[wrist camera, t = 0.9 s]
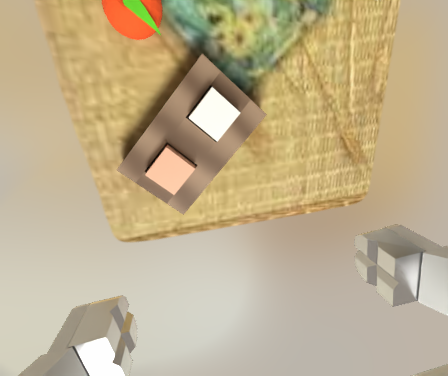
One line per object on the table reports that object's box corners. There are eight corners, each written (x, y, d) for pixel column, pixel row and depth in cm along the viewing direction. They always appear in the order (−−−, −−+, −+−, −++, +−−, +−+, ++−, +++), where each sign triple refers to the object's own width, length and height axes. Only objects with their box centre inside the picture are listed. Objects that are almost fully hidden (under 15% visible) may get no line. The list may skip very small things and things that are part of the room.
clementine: (181, 23, 34) (179, 4, 27) (148, 62, 35) (139, 53, 28) (133, -29, 31) (119, -65, 25) (100, 14, 32) (77, -8, 26)
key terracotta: (167, 143, 36) (166, 147, 33) (194, 164, 38) (195, 169, 35) (148, 169, 37) (144, 175, 34) (175, 188, 38) (174, 195, 36)
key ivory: (210, 88, 34) (212, 87, 32) (236, 112, 36) (240, 112, 33) (188, 116, 35) (188, 118, 32) (215, 138, 37) (217, 141, 34)
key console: (200, 58, 36) (202, 53, 32) (259, 113, 39) (266, 114, 36) (123, 163, 39) (116, 170, 35) (183, 204, 43) (183, 214, 39)
